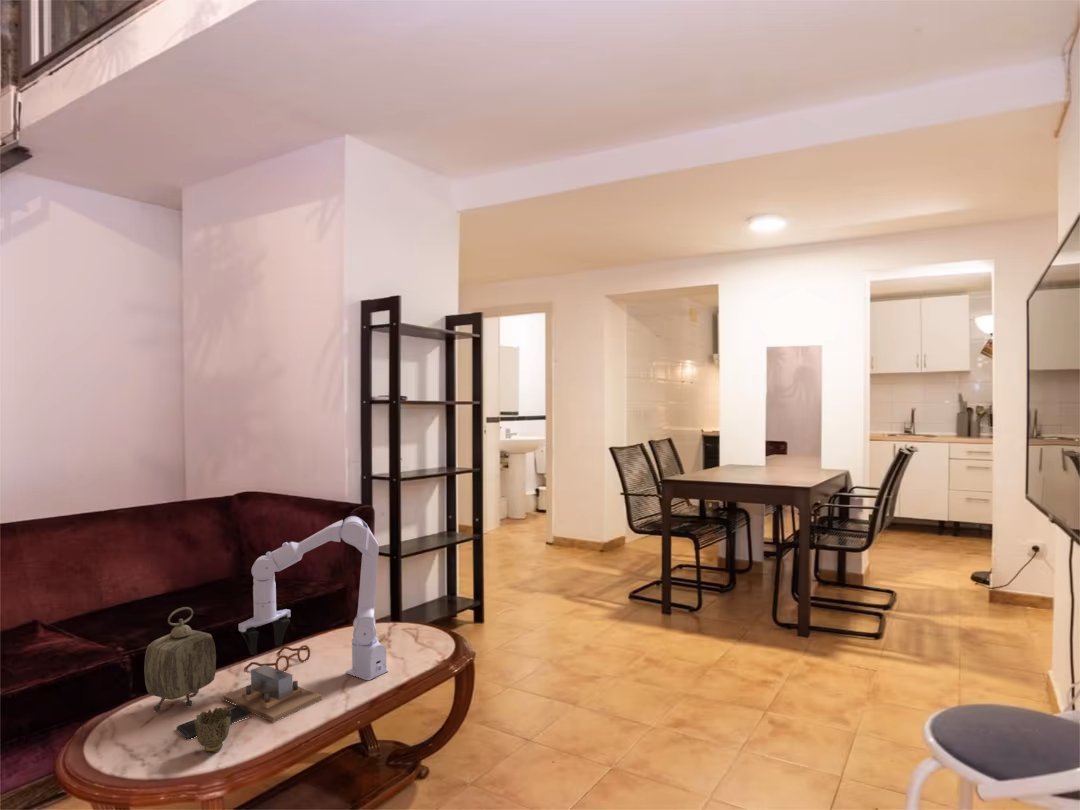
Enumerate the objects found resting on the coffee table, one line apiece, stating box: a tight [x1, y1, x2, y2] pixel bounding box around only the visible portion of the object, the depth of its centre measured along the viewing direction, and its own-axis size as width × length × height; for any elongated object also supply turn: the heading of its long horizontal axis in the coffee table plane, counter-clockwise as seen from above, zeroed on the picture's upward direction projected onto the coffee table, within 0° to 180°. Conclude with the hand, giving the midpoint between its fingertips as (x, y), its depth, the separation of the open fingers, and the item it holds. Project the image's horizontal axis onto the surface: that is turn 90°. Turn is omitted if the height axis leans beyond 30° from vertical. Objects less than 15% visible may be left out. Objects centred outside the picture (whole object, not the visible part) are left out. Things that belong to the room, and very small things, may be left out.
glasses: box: [244, 644, 311, 672], centre depth 197 cm, size 13×13×5 cm
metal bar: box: [250, 665, 293, 700], centre depth 173 cm, size 12×4×5 cm, turn 56°
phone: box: [176, 705, 251, 740], centre depth 161 cm, size 8×1×15 cm
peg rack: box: [222, 680, 323, 723], centre depth 173 cm, size 22×14×4 cm, turn 56°
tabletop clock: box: [143, 606, 217, 713], centre depth 171 cm, size 14×9×25 cm, turn 154°
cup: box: [193, 707, 231, 754], centre depth 149 cm, size 8×7×8 cm
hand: (266, 650), depth 183 cm, fingers open, 7 cm apart
